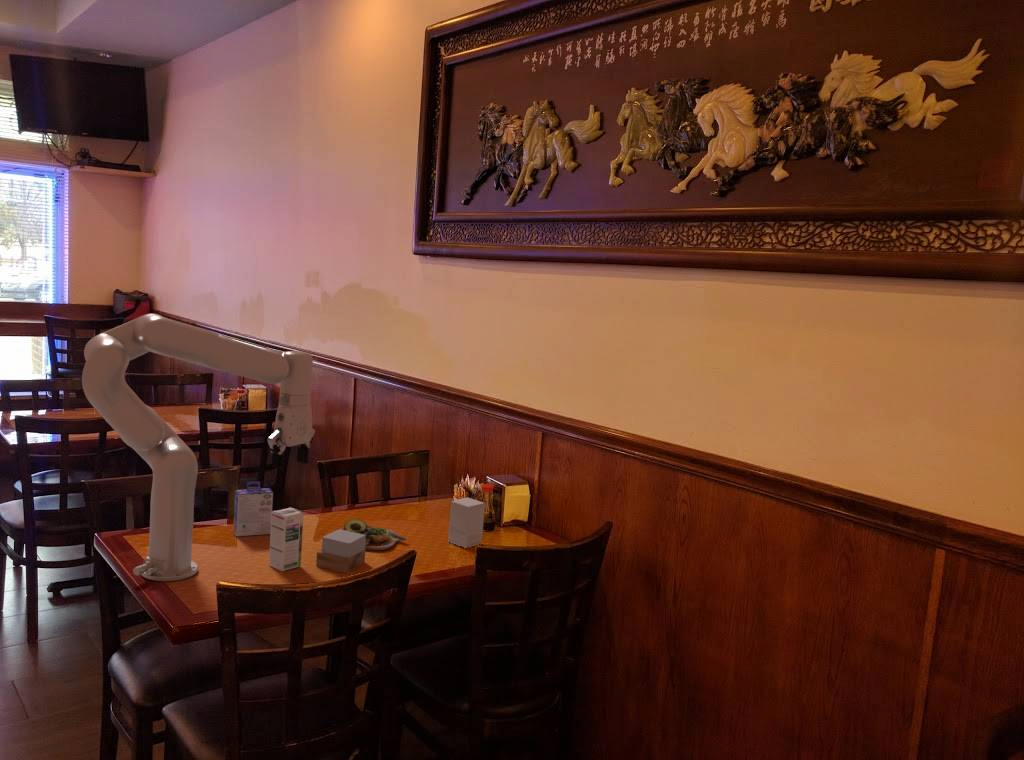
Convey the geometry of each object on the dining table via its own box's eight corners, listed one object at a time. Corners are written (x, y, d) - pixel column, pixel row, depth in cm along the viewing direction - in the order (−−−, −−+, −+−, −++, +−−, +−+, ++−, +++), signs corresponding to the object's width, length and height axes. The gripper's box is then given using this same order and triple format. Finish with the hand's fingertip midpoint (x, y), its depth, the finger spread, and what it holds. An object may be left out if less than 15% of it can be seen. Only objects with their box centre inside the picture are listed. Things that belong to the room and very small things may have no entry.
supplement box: (482, 544, 232) (486, 502, 231) (465, 549, 226) (469, 506, 225) (464, 537, 237) (467, 496, 235) (446, 542, 231) (450, 500, 229)
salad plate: (412, 536, 234) (413, 521, 234) (397, 556, 217) (399, 540, 216) (348, 528, 236) (349, 513, 235) (329, 547, 218) (330, 531, 218)
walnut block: (346, 574, 201) (347, 559, 200) (316, 567, 203) (317, 552, 203) (364, 563, 209) (365, 549, 209) (334, 556, 212) (335, 542, 211)
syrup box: (282, 572, 197) (285, 516, 195) (267, 565, 201) (271, 510, 199) (301, 566, 202) (304, 512, 200) (286, 560, 205) (290, 506, 203)
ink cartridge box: (267, 528, 228) (270, 479, 226) (272, 534, 223) (275, 484, 221) (231, 530, 223) (234, 481, 221) (235, 537, 218) (238, 486, 216)
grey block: (348, 558, 201) (349, 543, 200) (321, 552, 203) (322, 537, 203) (364, 549, 208) (365, 534, 208) (338, 543, 211) (339, 529, 210)
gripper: (284, 405, 191) (279, 474, 193) (327, 399, 207) (322, 462, 209) (259, 401, 194) (255, 468, 196) (304, 394, 210) (299, 457, 212)
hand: (289, 465), depth 203 cm, fingers open, 9 cm apart
